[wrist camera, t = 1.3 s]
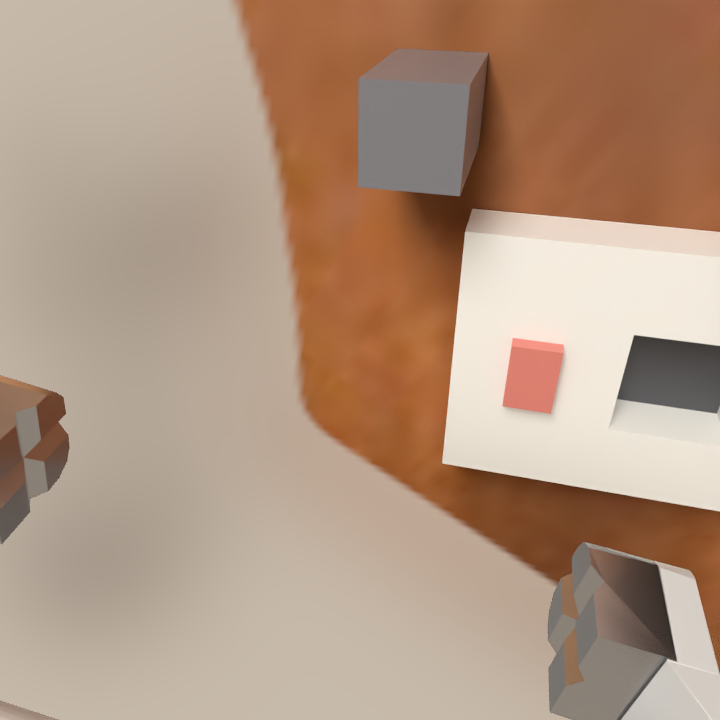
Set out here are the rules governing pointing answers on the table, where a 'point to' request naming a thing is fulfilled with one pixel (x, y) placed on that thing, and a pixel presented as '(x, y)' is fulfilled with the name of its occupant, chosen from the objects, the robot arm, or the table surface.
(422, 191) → the plug
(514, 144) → the table surface
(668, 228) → the socket plate
